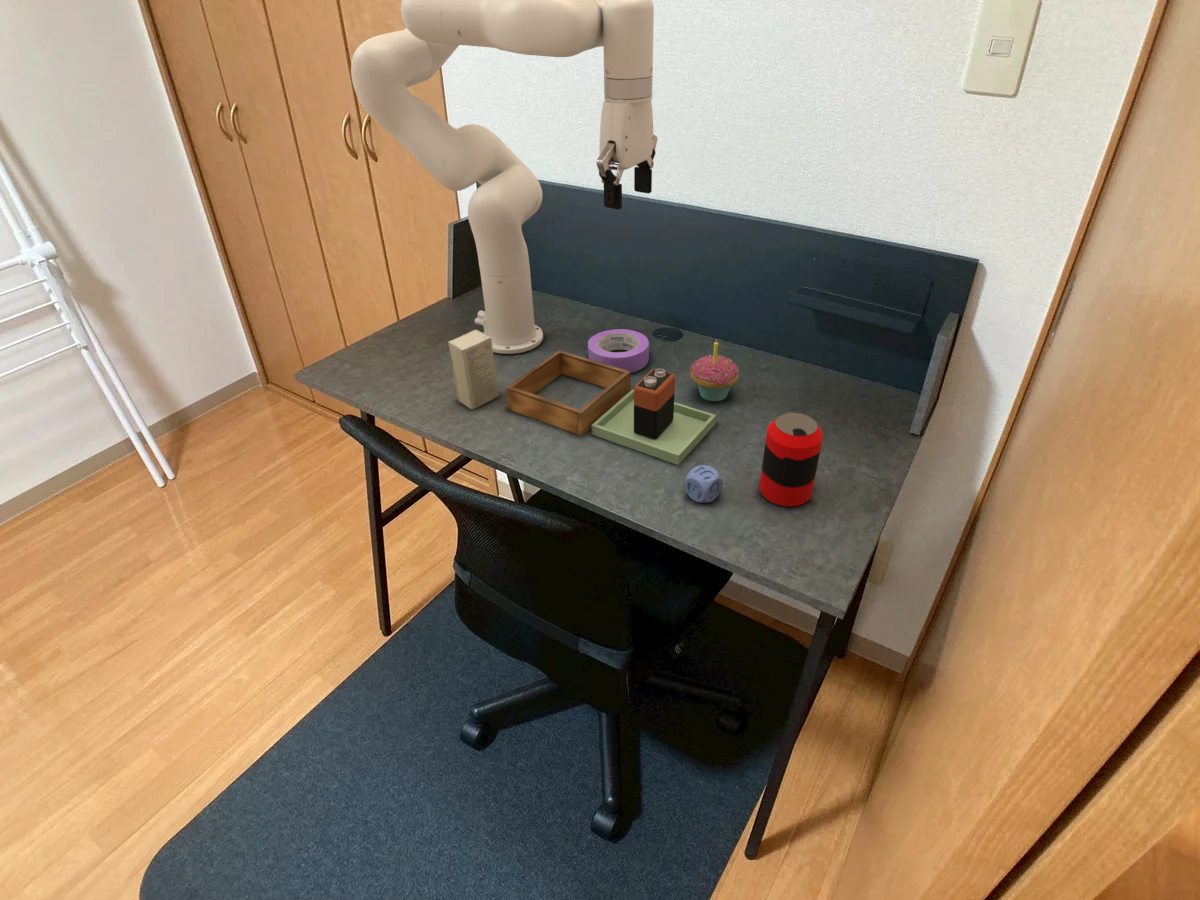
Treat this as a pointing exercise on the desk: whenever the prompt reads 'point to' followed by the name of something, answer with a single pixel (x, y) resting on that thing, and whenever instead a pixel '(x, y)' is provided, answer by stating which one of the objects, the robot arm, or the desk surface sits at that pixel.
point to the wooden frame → (560, 414)
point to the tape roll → (620, 340)
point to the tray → (671, 441)
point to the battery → (654, 403)
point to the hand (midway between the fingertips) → (628, 199)
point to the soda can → (790, 459)
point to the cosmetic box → (474, 368)
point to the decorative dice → (703, 484)
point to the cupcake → (714, 375)
